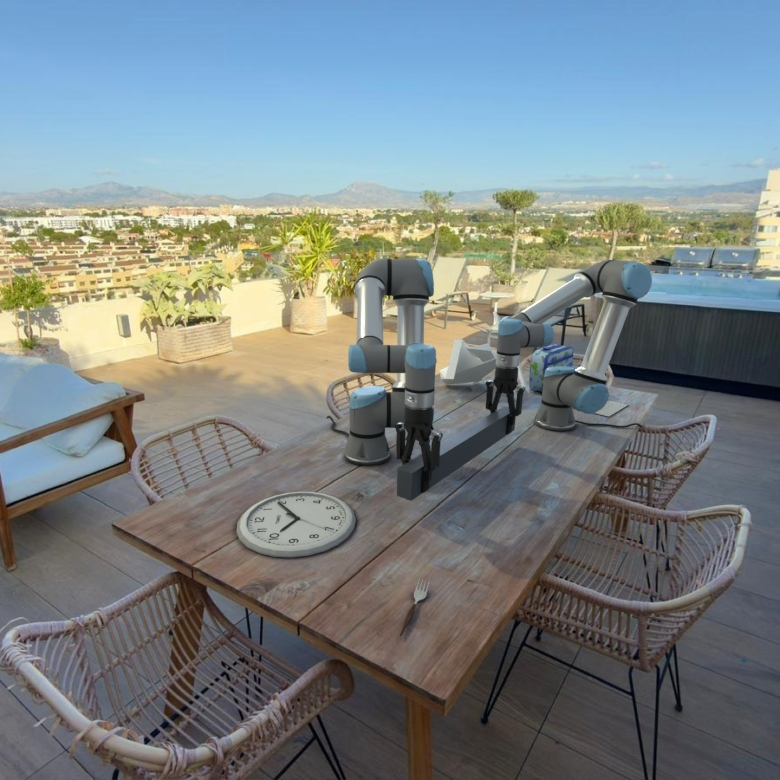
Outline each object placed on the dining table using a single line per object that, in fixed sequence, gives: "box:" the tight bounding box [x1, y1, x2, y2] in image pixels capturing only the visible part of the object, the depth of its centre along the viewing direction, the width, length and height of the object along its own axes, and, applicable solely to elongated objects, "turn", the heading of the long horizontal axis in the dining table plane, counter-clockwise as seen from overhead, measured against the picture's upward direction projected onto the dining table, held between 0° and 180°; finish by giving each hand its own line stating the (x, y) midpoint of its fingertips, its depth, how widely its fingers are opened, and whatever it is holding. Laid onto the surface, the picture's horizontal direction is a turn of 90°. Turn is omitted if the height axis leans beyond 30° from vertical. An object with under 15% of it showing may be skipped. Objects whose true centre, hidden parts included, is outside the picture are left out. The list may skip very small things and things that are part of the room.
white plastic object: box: [438, 310, 531, 400], centre depth 245 cm, size 37×45×31 cm
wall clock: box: [236, 491, 357, 558], centre depth 134 cm, size 30×2×30 cm
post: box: [396, 405, 517, 502], centre depth 159 cm, size 64×5×8 cm, turn 143°
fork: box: [399, 577, 431, 637], centre depth 104 cm, size 3×16×2 cm, turn 160°
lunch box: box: [528, 344, 574, 393], centre depth 247 cm, size 26×11×21 cm, turn 134°
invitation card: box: [594, 399, 629, 418], centre depth 226 cm, size 21×1×15 cm
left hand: (416, 487), depth 140 cm, fingers closed on post, 5 cm apart
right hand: (501, 431), depth 180 cm, fingers closed on post, 5 cm apart
